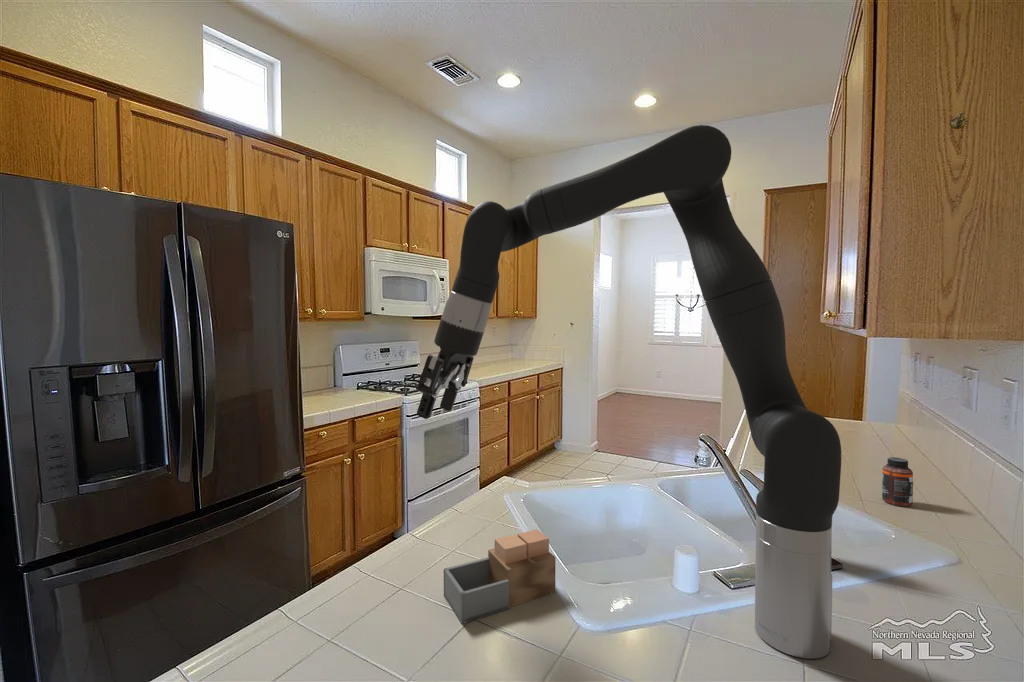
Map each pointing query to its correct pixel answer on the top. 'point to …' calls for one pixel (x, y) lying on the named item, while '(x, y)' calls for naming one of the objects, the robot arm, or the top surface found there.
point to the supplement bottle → (897, 482)
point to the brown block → (524, 576)
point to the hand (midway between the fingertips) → (434, 412)
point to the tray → (474, 591)
